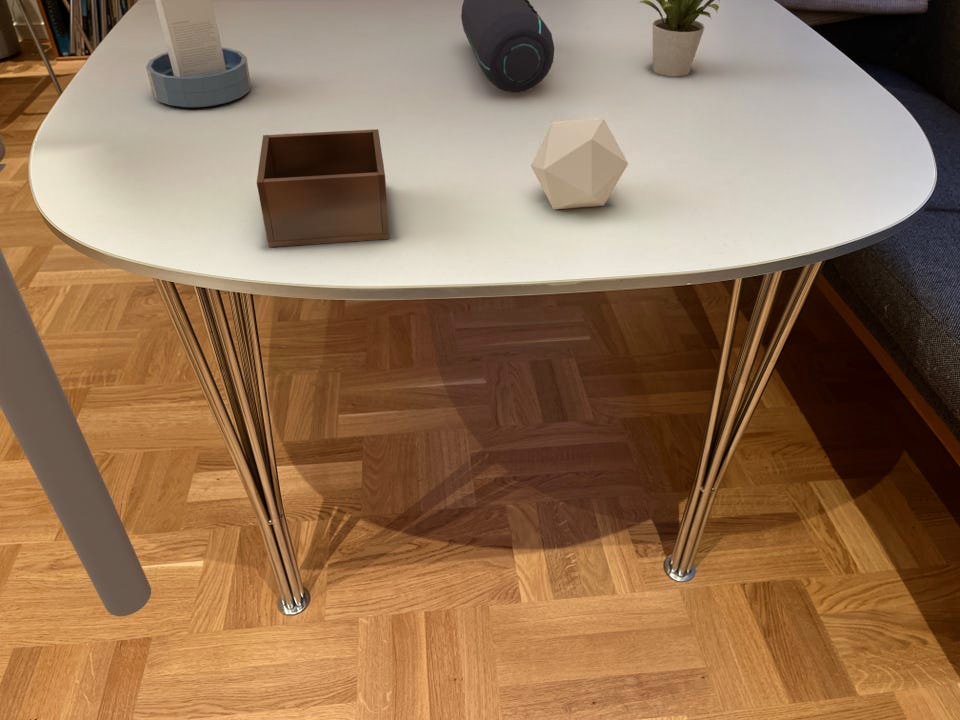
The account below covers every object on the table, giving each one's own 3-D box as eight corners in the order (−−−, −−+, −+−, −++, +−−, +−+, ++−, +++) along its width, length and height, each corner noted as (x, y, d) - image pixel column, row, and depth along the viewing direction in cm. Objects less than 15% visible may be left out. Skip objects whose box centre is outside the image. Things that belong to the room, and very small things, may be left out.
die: (606, 185, 83) (558, 105, 80) (658, 176, 75) (607, 87, 72) (552, 232, 81) (500, 153, 78) (599, 229, 73) (544, 140, 70)
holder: (268, 247, 71) (256, 182, 67) (273, 196, 79) (262, 134, 75) (389, 239, 73) (385, 174, 68) (382, 189, 80) (378, 129, 76)
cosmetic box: (220, 80, 103) (201, -16, 96) (230, 90, 101) (211, -8, 93) (175, 88, 101) (151, -10, 93) (184, 99, 98) (161, -2, 91)
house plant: (749, 73, 110) (779, -55, 99) (696, 97, 102) (722, -39, 92) (666, 49, 117) (686, -72, 107) (610, 70, 110) (626, -58, 99)
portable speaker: (558, 100, 101) (564, 20, 94) (482, 103, 99) (484, 22, 93) (520, 40, 120) (524, -30, 113) (457, 43, 118) (457, -28, 112)
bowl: (147, 112, 96) (138, 80, 93) (162, 78, 105) (155, 48, 102) (247, 107, 97) (242, 75, 95) (254, 74, 107) (248, 44, 104)
